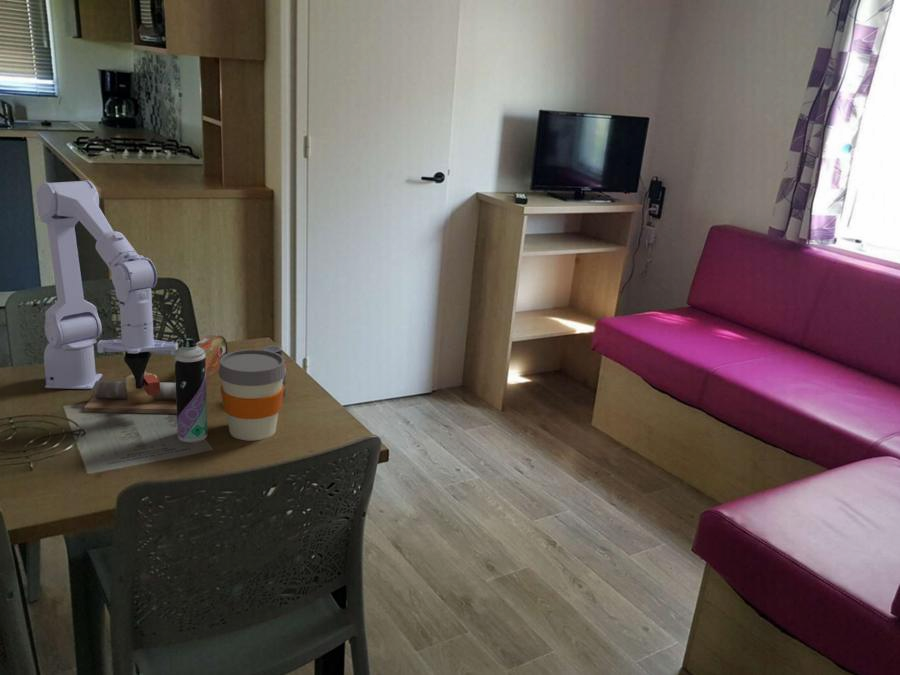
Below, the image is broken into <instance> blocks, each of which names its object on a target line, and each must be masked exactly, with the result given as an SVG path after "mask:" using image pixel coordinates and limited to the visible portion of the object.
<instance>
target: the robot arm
mask: <svg viewBox="0 0 900 675" xmlns="http://www.w3.org/2000/svg"><path fill="white" fill-rule="evenodd" d="M35 198H36V204H37V212H38V216H39V221H40V222H41V223H45V224H46V227H47V234H48V241H49V248H50V254H51V263H52V269H53V277H54V283H55V284H54V286H55V291H56V292H55V293H56V301H55V302H54V303H53V304H52V305H51V306H50V307H48V308H47V309H46V311H45V312H44V313H45V314H44V315H45V317H44V318H45V323H44V334H45V337H46V339H47V342H48V344H47V345H46V347H45V349H44V354H43V365H44V373H45V374H44V376H45V384H46V385H44V388H45V389H67V390H68V389H69V390H70V389H71V390H92V389H94V385H95V382H96V381H100V379H101V378H102V377H103V374H102V373H97V372H96V362H95V361H96V360H95V348H94V347H95V346H94V344H96V346H97V348H96V349H97V353H98V354H99V353H100V354H104V353H111V352H112V353H125V355H124V357H123V359H124V363H125V364H126V365H127V366H128V368H129V370H130V371H131V373H132V374H133V375H134V378H135V380H136V389H142V387H143V386H144V372H145V371H146V369H147V366H148V363H149V361H150V358H151V356H152V354H163V355H164V354H165V355H170V356H174V355H175V350H177V349H178V348H179V343H178V342H171V341H165V340H164V341H163V340H160V339H159V340H158V339H155V338H154V320H153V319H154V318H153V302H152V301H153V300H152V296H153V294H152V289H153V288H155V287H156V285H157V283H158V273H157V269H156V266H155V264H154V263H153V261H152V259H150V258H149V257H144V255H141V254H140V255H139V254H138V252H137V251H136V249H135V248H134V247H133V246H132V245H131V243H130V242H129V241H128V239H127V238H126V236H125V235H124V234H123V233H122V232H120V231H116V230H115V231H114V229H113V228H112V226H111V225H110V223H109V220H107V217H106V216H105V215H104V212H103V211H102V209H101V208H100V196H99V191H98V190H97V187H96V186H95V184H94V183H93V182H92V181H91V180H88V179H84V180H79V181H78V180H77V181H61V182H48V181H46V182H45V181H44V182H42V183H40V185H39V187H38V188H37V190H36V192H35ZM79 222H80V224H82V225H83V226H84V228H85V229H86V230H87V232H89V234H90V235H91V236H92V237H93V238H94V239H95V240H96V243H95V250H96V251H97V253H98V255H99V256H100V257H101V259H102V260H103V261H104V263H105V264H106V265H107V267H108V268H109V269H110V271H111V274H110V277H111V281H112V282H111V283H112V285H113V287H114V290H115V297H116V299H117V300H118V301H119V315H120V317H119V318H120V330H121V331H120V332H121V339H117V338H116V339H105V340H103V339H100V340H99V341H98V342H97V339H98V338H100V336H101V334H102V330H103V329H102V327H103V326H102V321H101V319H100V317H99V314H98V309H97V306H96V305H94V304H93V303H91V302H89V301H87V300H86V299H85V298H84V297H85V296H84V290H83V281H82V275H81V266H80V261H79V260H80V259H79V250H78V246H77V245H78V244H77V236H76V230H75V226H76V225H77V224H78V223H79Z"/></svg>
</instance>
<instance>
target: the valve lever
mask: <svg viewBox="0 0 900 675" xmlns="http://www.w3.org/2000/svg"><path fill="white" fill-rule="evenodd" d="M146 373H147V371H146V370H145V372H144V386H143V389H144V390H145V391H146V393H147V394H148V395H149V396H150V395H156V394H160V380H159V379H158V377H157V378H156V377H155V375H156V374H154V373H151V374H150V375H147V374H146Z"/></svg>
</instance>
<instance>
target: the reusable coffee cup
mask: <svg viewBox="0 0 900 675" xmlns="http://www.w3.org/2000/svg"><path fill="white" fill-rule="evenodd" d="M281 355H282V354H281ZM281 355H279V354H277V353H275V352H272V351H267V350H263V349H253V348H252V349H240V350H235V351H232V352H227V354H226V355H224V356H223V357H222V358H221V360H220V367H219V371H218V376H219V378H220V380H221V386H220V394H221V400H222V406H223V411H224V412H225V413H226V416H227V422H228V431H229V434H230V435H231V436H232V437H233V438H235V439H238V440H242V441H252V442H253V441H260V440H265V439H268V438H271V437H272V436H273V435H274V434H275V433H276V431H277V425H278V424H277V423H278V418H279V412H280V411H281V410H282V404H283V398H284V397H283V391H284V385H283V384H282V383H283V377H284V376H285V373H286V374H287V371H286V372H285V363H284V358H285V357H284V356H283V355H282V356H283V357H284V358H283V357H282V356H281Z"/></svg>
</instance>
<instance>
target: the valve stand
mask: <svg viewBox="0 0 900 675" xmlns="http://www.w3.org/2000/svg"><path fill="white" fill-rule="evenodd" d="M146 374H147V375H150V374H152V373H151V372H146ZM154 375H155V377H156V378H157V379H158V377H157V375H156V374H154ZM83 409H84V413H114V414H115V413H121V414H122V413H123V414H124V413H125V414H126V413H127V414H130V413H131V414H173V415H174V414H176V415H177V406H176V382H166V381H165V382H162V381H161V382H160V394H156V395H150V396H149V395H148V394H147V393H146V391H145V390H144V389H143V387H142V389H136V380H135V378H134V375H133V373H132V374H130V375H128V376H126V377H125V381H123V380H122V381H118V380H116V381H115V380H98V381H96V382H95V385H94V387H93V396H91V398H90V399H89V401H88V402H87V403H86V404H85V406H84V408H83Z"/></svg>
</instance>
